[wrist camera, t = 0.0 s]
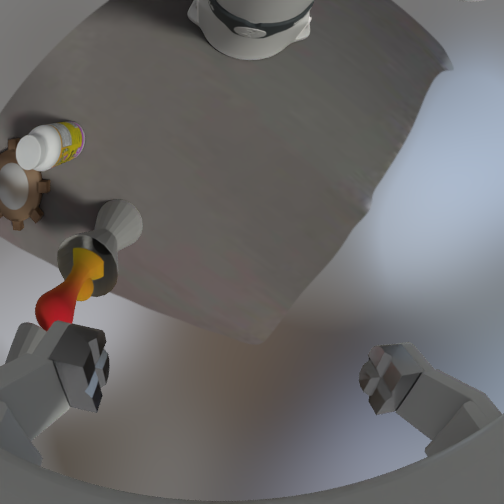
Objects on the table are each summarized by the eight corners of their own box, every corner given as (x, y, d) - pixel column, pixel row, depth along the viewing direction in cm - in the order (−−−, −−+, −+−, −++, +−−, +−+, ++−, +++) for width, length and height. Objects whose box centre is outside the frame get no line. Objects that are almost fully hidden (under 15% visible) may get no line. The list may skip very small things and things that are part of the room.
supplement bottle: (60, 165, 38) (18, 185, 27) (50, 130, 35) (5, 141, 24) (91, 150, 38) (51, 166, 27) (81, 114, 35) (38, 118, 24)
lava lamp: (97, 194, 42) (-43, 337, 11) (146, 202, 44) (43, 377, 13) (95, 242, 46) (-5, 403, 15) (141, 251, 47) (72, 436, 17)
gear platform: (-12, 141, 32) (-17, 142, 31) (51, 136, 36) (46, 137, 34) (-7, 224, 40) (-11, 227, 38) (53, 231, 43) (49, 234, 42)
